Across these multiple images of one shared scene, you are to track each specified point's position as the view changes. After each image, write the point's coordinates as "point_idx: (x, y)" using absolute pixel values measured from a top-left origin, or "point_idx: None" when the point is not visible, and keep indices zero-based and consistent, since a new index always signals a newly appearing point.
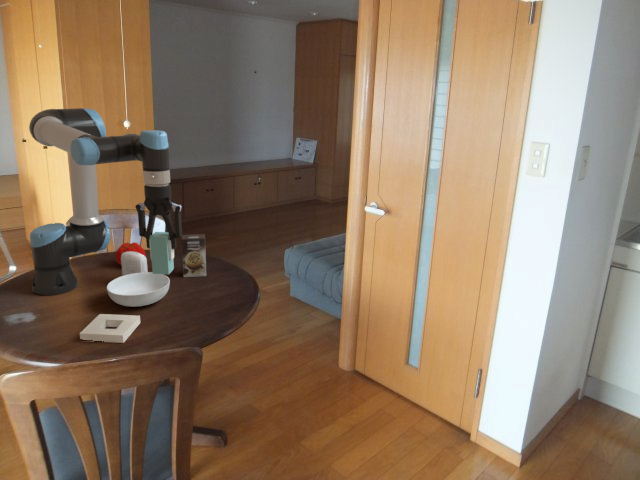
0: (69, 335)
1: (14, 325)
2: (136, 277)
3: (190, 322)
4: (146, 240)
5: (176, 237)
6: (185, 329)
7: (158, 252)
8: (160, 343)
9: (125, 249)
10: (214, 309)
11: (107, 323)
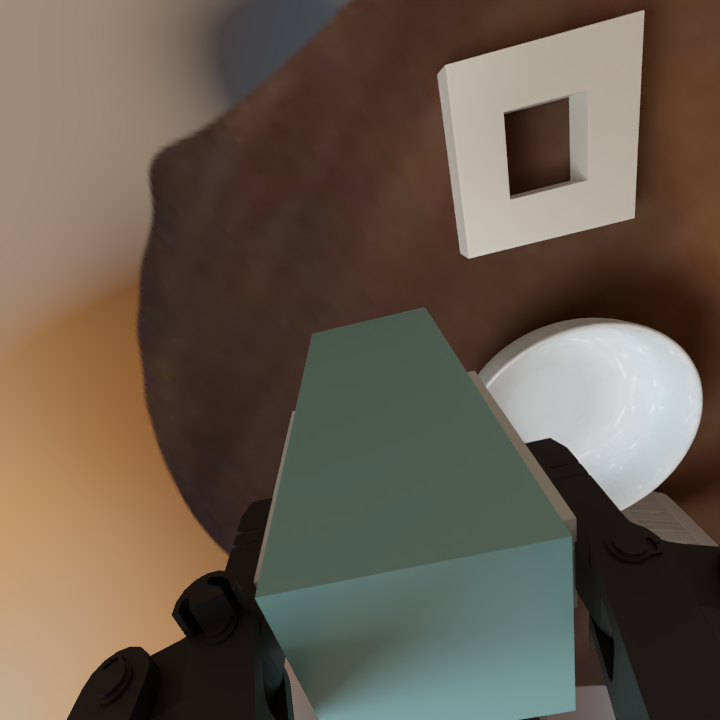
0: (686, 55)
1: None
2: (617, 490)
3: (290, 315)
4: (613, 506)
5: (174, 654)
6: (274, 262)
7: (388, 401)
8: (296, 125)
9: None
10: (269, 421)
11: (572, 181)
